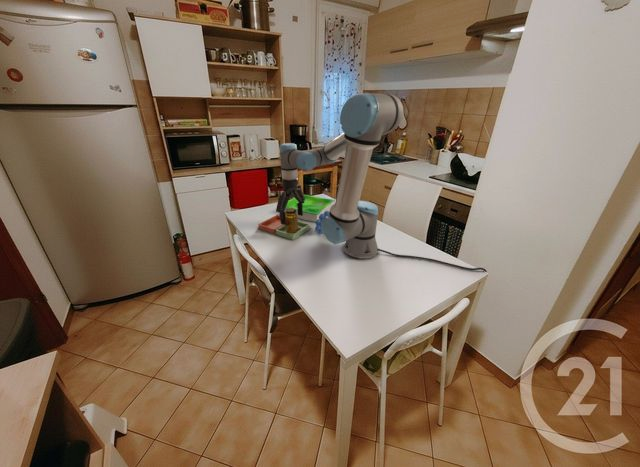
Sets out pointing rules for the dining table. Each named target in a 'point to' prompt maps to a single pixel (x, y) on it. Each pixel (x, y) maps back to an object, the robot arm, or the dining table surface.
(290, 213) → the condiment
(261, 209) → the dining table surface
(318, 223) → the grapes
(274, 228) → the terracotta tray
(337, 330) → the dining table surface
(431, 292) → the dining table surface
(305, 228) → the green tray
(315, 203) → the tray
